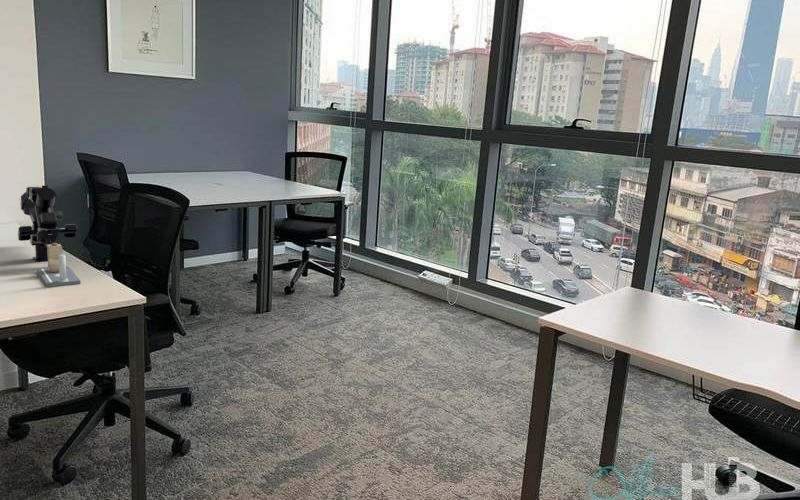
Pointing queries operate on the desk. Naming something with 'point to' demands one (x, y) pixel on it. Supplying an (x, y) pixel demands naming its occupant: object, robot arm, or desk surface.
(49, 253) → the pointer block
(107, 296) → the desk surface
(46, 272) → the gauge board
